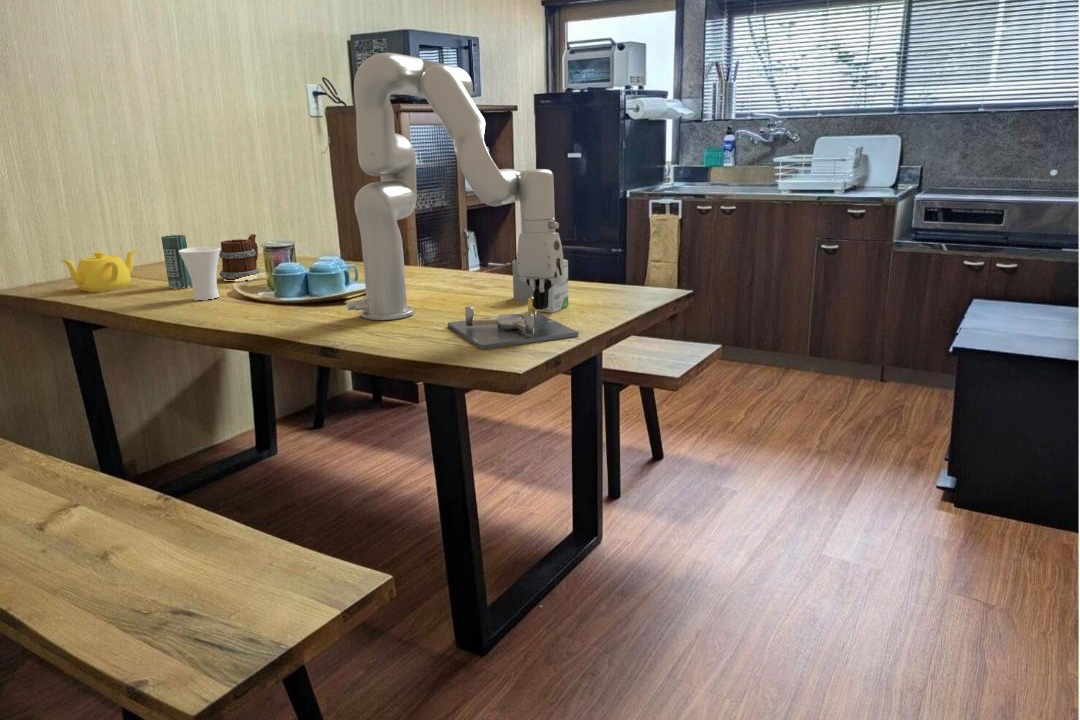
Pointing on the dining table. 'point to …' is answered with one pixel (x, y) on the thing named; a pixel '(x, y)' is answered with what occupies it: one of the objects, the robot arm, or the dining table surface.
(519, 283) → the cup
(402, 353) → the dining table surface
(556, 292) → the ink box
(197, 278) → the cup
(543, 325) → the stand plate
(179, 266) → the teal patterned carton
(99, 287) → the teapot
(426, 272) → the dining table surface
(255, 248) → the mug
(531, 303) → the capstan
